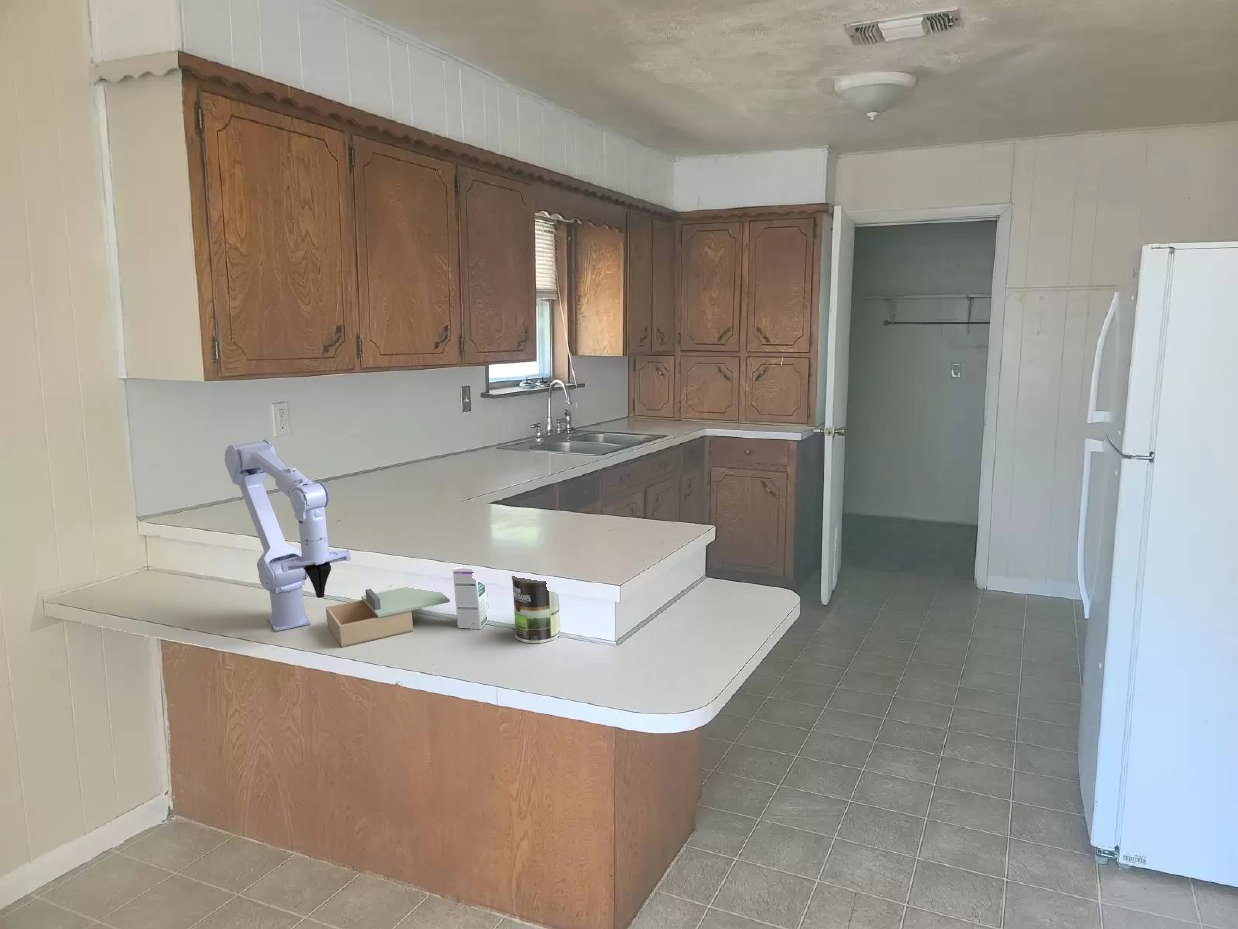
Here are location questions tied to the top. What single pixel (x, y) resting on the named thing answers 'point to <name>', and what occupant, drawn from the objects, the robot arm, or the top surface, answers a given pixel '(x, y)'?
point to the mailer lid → (402, 600)
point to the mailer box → (364, 623)
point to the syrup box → (469, 599)
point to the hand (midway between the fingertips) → (320, 596)
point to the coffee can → (535, 611)
